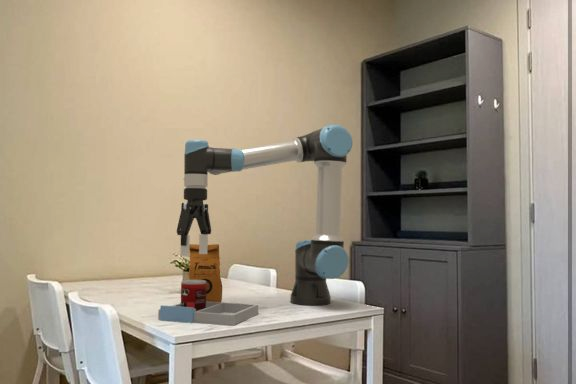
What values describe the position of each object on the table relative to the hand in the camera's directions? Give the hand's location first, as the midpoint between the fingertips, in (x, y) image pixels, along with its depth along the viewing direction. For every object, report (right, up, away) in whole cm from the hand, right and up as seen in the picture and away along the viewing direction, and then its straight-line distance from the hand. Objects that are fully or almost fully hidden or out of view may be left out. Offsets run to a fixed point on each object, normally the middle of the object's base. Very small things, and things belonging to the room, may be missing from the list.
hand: (194, 255), depth 168 cm
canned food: (0, -19, -1) cm, 19 cm away
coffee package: (+1, -20, +18) cm, 27 cm away
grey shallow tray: (+5, -19, -3) cm, 20 cm away
